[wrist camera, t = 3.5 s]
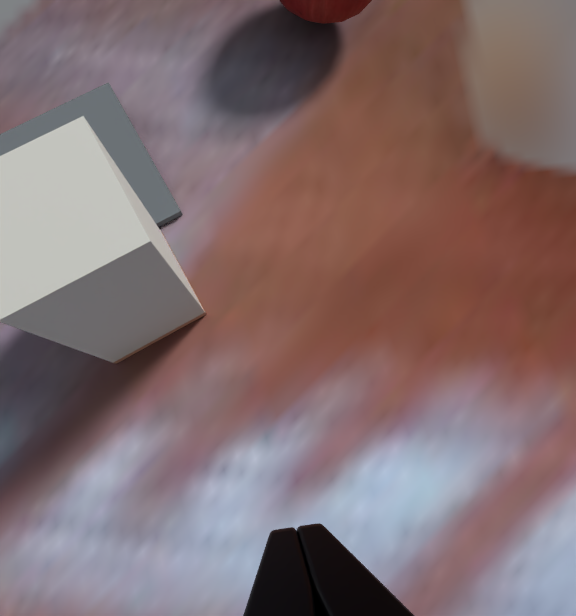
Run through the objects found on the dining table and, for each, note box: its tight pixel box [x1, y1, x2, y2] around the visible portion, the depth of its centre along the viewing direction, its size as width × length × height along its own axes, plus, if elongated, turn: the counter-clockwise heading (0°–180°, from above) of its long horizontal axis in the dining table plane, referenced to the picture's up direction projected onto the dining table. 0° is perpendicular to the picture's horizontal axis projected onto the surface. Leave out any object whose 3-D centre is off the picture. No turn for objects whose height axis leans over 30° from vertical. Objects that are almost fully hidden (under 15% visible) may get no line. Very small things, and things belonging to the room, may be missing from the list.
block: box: [0, 116, 206, 364], centre depth 18 cm, size 4×4×9 cm
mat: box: [0, 83, 182, 227], centre depth 24 cm, size 8×7×1 cm
